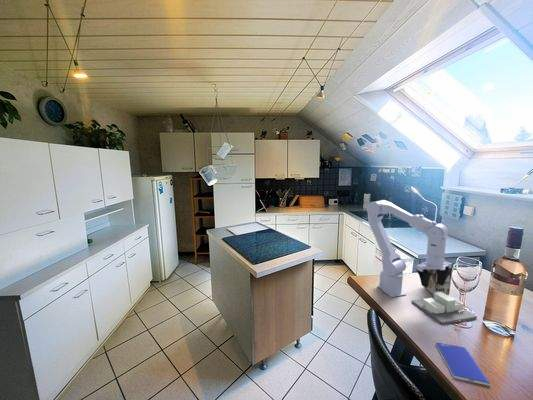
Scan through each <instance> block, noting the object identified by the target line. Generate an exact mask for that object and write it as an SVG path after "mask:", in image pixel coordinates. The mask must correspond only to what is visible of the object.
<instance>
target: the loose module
mask: <svg viewBox="0 0 533 400" xmlns="http://www.w3.org/2000/svg"><path fill="white" fill-rule="evenodd" d="M433 297H434V298H433V299H434V300H436V301H437V302H439V303H440V304H442V305H443V306H445V312H446V313H448V312H454V308H455V299H456V298H455V299H453V298H454V297H453V298H451V297H449V296H448V295H446V294H444V293H442V292H436V293H434V295H433Z"/></svg>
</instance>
